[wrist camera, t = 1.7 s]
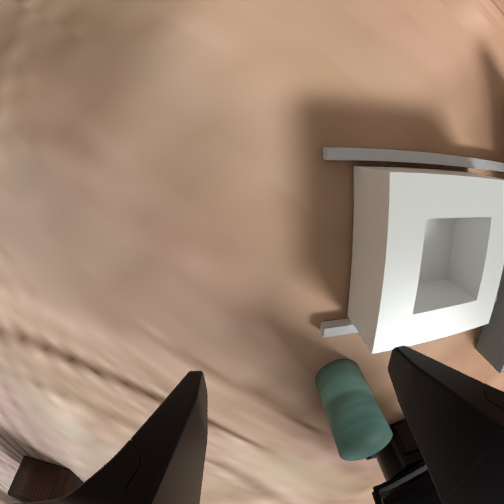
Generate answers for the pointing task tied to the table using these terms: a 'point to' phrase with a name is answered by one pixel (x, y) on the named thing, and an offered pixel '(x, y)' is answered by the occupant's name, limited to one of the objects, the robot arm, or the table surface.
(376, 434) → the dowel
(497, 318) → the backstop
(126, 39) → the table surface
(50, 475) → the black box with stems
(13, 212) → the table surface
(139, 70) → the table surface
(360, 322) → the socket block
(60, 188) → the table surface
